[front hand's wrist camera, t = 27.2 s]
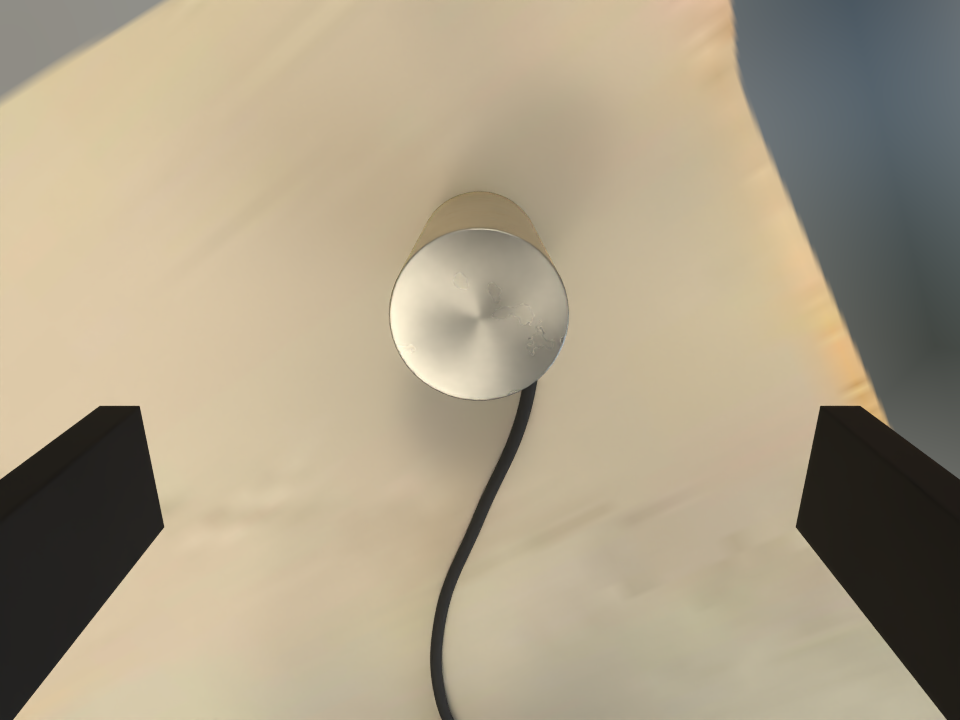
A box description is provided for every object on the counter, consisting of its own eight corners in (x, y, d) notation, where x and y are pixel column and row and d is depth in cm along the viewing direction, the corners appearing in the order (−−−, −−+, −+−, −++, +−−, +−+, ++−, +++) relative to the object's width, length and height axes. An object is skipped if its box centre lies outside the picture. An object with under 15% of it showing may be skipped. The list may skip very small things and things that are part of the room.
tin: (426, 314, 35) (400, 407, 23) (413, 196, 32) (377, 235, 21) (541, 304, 34) (572, 394, 23) (535, 186, 32) (566, 220, 21)
